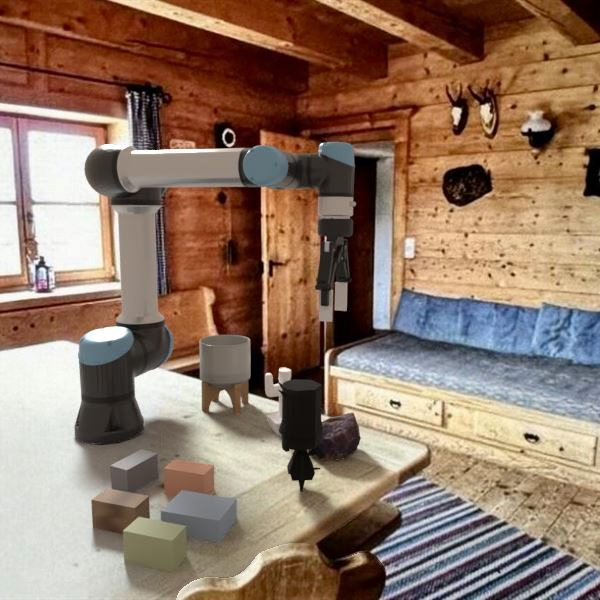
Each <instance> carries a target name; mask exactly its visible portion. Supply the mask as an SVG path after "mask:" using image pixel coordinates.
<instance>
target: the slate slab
mask: <svg viewBox="0 0 600 600" xmlns="http://www.w3.org/2000/svg"><path fill="white" fill-rule="evenodd" d="M237 500H238V499H237V498H234V497H230V496H229V497H227V496H222V495H215V494H211V495H209V494H203V493H197V492H190V491H184V490H181V491H180V492H179V493H178V494H177V495H176V496H175V495H174V497H173V499H171V500H170V501H169V502H168V503H167V504H166V505H165V506H164V507H163V508H162V509H161V510H160V521H163V522H168V523H173V524H179V525H184V526H186V538H189V539H194V540H201V541H207V542H211V543H217V544H220V543H222V540H224V538H225V536H226V535H227V534H228V532H229V531H230V530H229V529H231V528H232V527H233V525H235V523H236V521H237V519H238V515H237V514H238V511H237V510H238V506H237V505H238V504H237V503H238V501H237Z"/></svg>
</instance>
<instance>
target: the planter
mask: <svg viewBox="0 0 600 600" xmlns="http://www.w3.org/2000/svg"><path fill="white" fill-rule="evenodd" d="M198 346H199V379H200V380H201V412H203V413H209V412H210V407H211V404H212V402H215V403H216V402H217V401H218V402H219V401H220V400H219V399H220V392H222V391H225V392H226V393H227V394H228V396H229V398H230V401H231V404H232V411H233V412H232V413H233V414H234V415H238V414H242V411H241V409H242V407H241V403H242V404H248V403H249V380H250V379H251V373H252V372H251V339H250V338H249V337H247V336H244V335H240V334H239V335H238V334H217V335H216V334H215V335H209V336H204V337H202V338H200V339H199V345H198Z"/></svg>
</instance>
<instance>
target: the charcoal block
mask: <svg viewBox="0 0 600 600" xmlns="http://www.w3.org/2000/svg"><path fill="white" fill-rule="evenodd" d="M157 479H159V455H158V453H157V452H154V451H149V450H145V449H142V448H141V449H140V450H137V451H136V452H134V453H131V454H130V455H128V456H126V457H124V458H122V459H121V460H120V459H119V461H116V462H114V463H113V464H111V465H110V485H111V486H110V487H111V488H110V489H114V490H119V491H125V492H130V493H135V492H137V491H140V489H142V488H143V487H145V486H147V485H148V484H150V483H152V482H154V481H156V480H157Z"/></svg>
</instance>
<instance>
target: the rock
mask: <svg viewBox="0 0 600 600" xmlns="http://www.w3.org/2000/svg"><path fill="white" fill-rule="evenodd" d="M322 428H323V431H322V438H321V443H320V444H319V445H318V447H319V448H320V449H321V450H322V451H323V452H324V453H326V454H327V455H326V454H325V455H326V456H325V455H324V456H325V458H323V457H322V460H327V459H328V460H330V459H333V460H335V461H336V460H337V461H338V462H340V461H342V460H346V459H348V458H349V457H351V455H353V454H354V453H356V452H357V451H358V447H359V445H360V442H361V439H362V437H361V433H360V425H359V424H358V421H357V419H356V416H355V413H354V412H350V413H349V412H348V413H343V414H342V415H337V416H331V417H329V418H327V419H325V420H323V421H322ZM311 450H312V449H308V450H307V451H308V453H309V452H310V451H311ZM311 457H312V458H314V459H315V460H318V461H322V460H321V459H320V458H319V457H318V456H317V455H313V456H311Z"/></svg>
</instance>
